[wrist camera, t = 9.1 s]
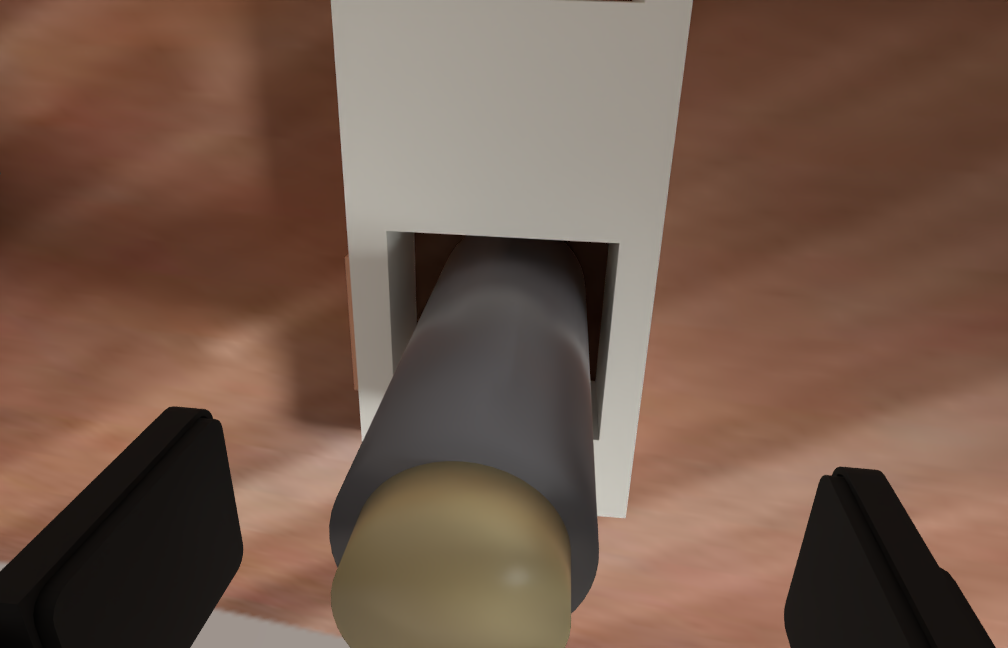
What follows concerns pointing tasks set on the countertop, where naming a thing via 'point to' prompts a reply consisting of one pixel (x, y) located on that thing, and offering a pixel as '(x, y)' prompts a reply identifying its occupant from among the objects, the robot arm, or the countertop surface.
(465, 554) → the plug
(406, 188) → the socket strip
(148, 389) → the countertop surface
